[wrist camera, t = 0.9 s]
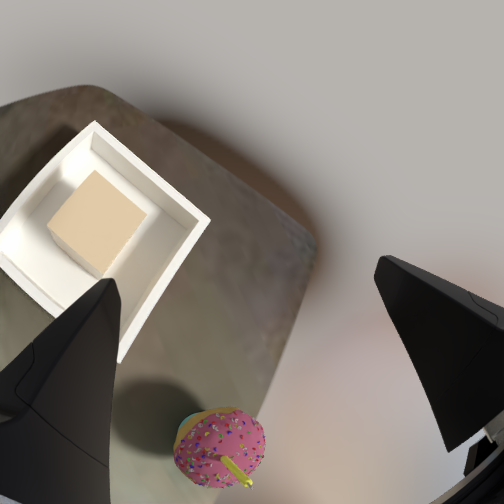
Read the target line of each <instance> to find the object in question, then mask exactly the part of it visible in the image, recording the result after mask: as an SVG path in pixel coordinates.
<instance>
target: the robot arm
mask: <svg viewBox="0 0 504 504" xmlns="http://www.w3.org/2000/svg"><path fill="white" fill-rule="evenodd" d="M374 281H375V283H376V286H377V288H378V290H379V293H380V295H381V297H382V300H383V302H384V305H385V307H386V309H387V312H388V314H389V316H390V318H391V320H392V322H393V324H394V326H395V328H396V330H397V332H398V334H399V336H400V338H401V340H402V342H403V344H404V346H405V348H406V350H407V352H408V354H409V357H410V359H411V361H412V363H413V365H414V368H415V370H416V372H417V374H418V376H419V379H420V381H421V383H422V386H423V388H424V390H425V393H426V395H427V398H428V400H429V402H430V405H431V408H432V411H433V413H434V416H435V418H436V421H437V424H438V427H439V430H440V432H441V435H442V438H443V441H444V444H445V447H446V449H447V452H448V453H449V452H450V451H452V450H453V449H455V448H456V447H458V446H459V445H461V444H462V443H464V442H465V441H466V440H468V439H469V438H470V437H472V436H473V435H474V434H475V433H477V432H478V431H479V430H480V429H483V430H484V432H485V435H484V436H483V437H482V438H481V439H479V440H478V441H477V442H476V443H475V444H473V445H472V446H471V447H470V448H469V452H468V456H467V461H466V466H465V469H464V476H465V478H464V479H463V480H461V481H460V482H459V483H458V484H456V485H455V486H454V487H452V488H451V489H450V490H448V491H447V492H446V493H444V494H443V495H441V496H440V497H439V498H437V499H436V500H434V501H433V502H431V503H430V504H504V308H503V307H501V306H499V305H496V304H494V303H492V302H490V301H488V300H486V299H484V298H482V297H479V296H477V295H475V294H473V293H471V292H469V291H467V290H465V289H463V288H461V287H459V286H457V285H455V284H453V283H451V282H449V281H447V280H444V279H442V278H440V277H438V276H436V275H434V274H431V273H429V272H427V271H425V270H423V269H421V268H418V267H416V266H414V265H412V264H409V263H407V262H405V261H403V260H400V259H398V258H396V257H394V256H391V255H386V256H381V257H380V258H379V261H378V264H377V267H376V270H375V274H374ZM121 305H122V304H121V297H120V294H119V291H118V288H117V285H116V282H115V280H114V279H113V278H102V279H100V280H99V281H98V282H97V283H96V284H94V285H93V286H92V287H91V288H90V289H89V290H87V291H86V292H85V293H84V294H83V295H82V296H80V297H79V298H78V299H77V300H76V301H75V302H74V303H73V304H71V305H70V306H69V307H68V308H67V309H66V310H65V311H64V312H63V313H61V314H60V315H59V316H58V317H57V318H56V319H55V320H54V321H53V322H52V323H51V324H50V325H49V326H47V327H46V328H45V329H44V330H43V331H42V332H41V333H40V334H39V335H38V336H37V337H36V338H35V339H34V340H33V343H32V342H31V343H30V344H29V345H28V346H27V347H26V348H25V349H24V350H23V351H22V352H21V353H20V354H19V355H18V356H17V357H16V358H15V359H14V360H13V361H12V362H10V363H9V364H8V365H7V366H6V367H5V368H4V369H3V370H2V371H1V372H0V504H111V502H110V479H109V444H110V423H111V409H112V397H113V388H114V379H115V371H116V363H117V356H118V349H119V336H120V319H121Z"/></svg>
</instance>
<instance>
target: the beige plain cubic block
mask: <svg viewBox="0 0 504 504" xmlns="http://www.w3.org/2000/svg"><path fill="white" fill-rule="evenodd" d="M146 216H147V214H146V213H145V212H144V211H143V210H141V209H140V208H139V207H138V206H137V205H135V204H134V203H133V202H132V201H131V200H129V199H128V198H127V197H126V196H125V195H124V194H122V193H121V192H120V191H119V190H118V189H117V188H115V187H114V186H113V185H112V184H111V183H110V182H109V181H107V180H106V179H105V178H104V177H103V176H102V175H101V174H99V173H98V172H97V171H96V170H94V171H93V172H92V173H91V174H90V175H89V176H88V177H87V178H86V179H85V180H84V181H83V182H82V184H81V185H80V186H79V187H78V188H77V189H76V190H75V191H74V192H73V194H72V195H71V196H70V197H69V198H68V199H67V200H66V202H65V203H64V204H63V205H62V206H61V208H60V209H59V210H58V211H57V212H56V214H55V215H54V216H53V217H52V219H51V220H50V221H49V222H48V224H47V227H48V229H49V231H50V233H51V235H52V237H53V239H54V241H55V243H56V245H57V246H59V247H60V248H61V249H62V250H63V251H64V252H65V253H66V254H68V255H69V256H70V257H71V258H72V259H73V260H75V261H76V262H77V263H78V264H79V265H80V266H82V267H83V268H84V269H85V270H86V271H88V272H89V273H90V274H91V275H93V276H94V277H95V278H96V279H97V280H100V279H102V277H103V276H104V274H105V273H106V271H107V270H108V268H109V267H110V266H111V264H112V263H113V261H114V260H115V258H116V257H117V256H118V254H119V253H120V252H121V250H122V249H123V247H124V246H125V245H126V243H127V242H128V241H129V239H130V238H131V237H132V235H133V234H134V233H135V231H136V230H137V228H138V227H139V225H140V224H141V223H142V221H143V220H144V218H145V217H146Z"/></svg>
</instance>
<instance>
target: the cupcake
mask: <svg viewBox="0 0 504 504" xmlns="http://www.w3.org/2000/svg"><path fill="white" fill-rule="evenodd" d="M265 446H266V444H265V436H264V431H263V428H262V426H261V425H260V423H259V422H258V421H256V420H255V418H252V417H251V416H249V415H248V414H246V413H245V412H243V411H242V410H240V409H238V408H236V407H226V408H217V409H211V410H207V411H203V412H198V413H194V414H192V415H190V416H188V417H187V418H185V419H184V420H183V421H182V423H181V424H180V426H179V428H178V433H177V437H176V441H175V444H174V446H173V451H174V461H175V464H176V466H177V467H178V468H179V469H180V471H181V472H182V473H183V474H184V475H185V476H187V477H188V478H189V479H190V480H191V481H193V482H194V483H195V484H198V485H202V486H203V487H207V488H208V487H212V488H214V487H216V488H218V487H219V488H220V487H222V488H223V487H224V486H228V487H229V486H231V485H233V484H236V483H240V482H241V483H242V484H243V485H244V486H245V487H249V488H250V489H251V490H252V489H253V487H252V486H251V485H252V480H250V479H249V478H248V476H249V475H250V474H251V473H252V472H253V471H254V470H255V469H256V467H257V466H258V465H259V464H260V463H261V459H262V458H263V457H264V455H263V453H264V449H265Z"/></svg>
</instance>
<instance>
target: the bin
mask: <svg viewBox="0 0 504 504" xmlns="http://www.w3.org/2000/svg"><path fill="white" fill-rule="evenodd" d="M94 170H96V171H97V172H98V173H99V174H101V175H102V176H103V177H104V178H105V179H106V180H107V181H109V182H110V183H111V184H112V185H113V186H114V187H115V188H117V189H118V190H119V191H120V192H121V193H122V194H124V195H125V196H126V197H127V198H128V199H129V200H131V201H132V202H133V203H134V204H135V205H137V206H138V207H139V208H140V209H141V210H143V211H144V212H145V213H146V214H147V216H146V217H145V218H144V220H143V221H142V223H141V224H140V225H139V227H138V228H137V230H136V231H135V233H134V234H133V235H132V237H131V238H130V239H129V241H128V242H127V243H126V245H125V246H124V247H123V249H122V250H121V252H120V253H119V254H118V256H117V257H116V258H115V260H114V261H113V263H112V264H111V266H110V267H109V268H108V270H107V271H106V273H105V274H104V276H103V277H102V278H113V279H114V280H115V282H116V285H117V288H118V291H119V294H120V297H121V304H122V305H121V319H120V336H119V349H118V356H117V362H118V363H121V361H122V359H123V358H124V356H125V354H126V352H127V351H128V349H129V347H130V346H131V344H132V342H133V340H134V339H135V337H136V335H137V334H138V332H139V330H140V329H141V327H142V325H143V324H144V322H145V320H146V319H147V317H148V316H149V314H150V312H151V311H152V309H153V307H154V306H155V304H156V303H157V301H158V299H159V298H160V296H161V295H162V293H163V292H164V290H165V288H166V287H167V285H168V284H169V282H170V281H171V279H172V277H173V276H174V274H175V273H176V271H177V270H178V268H179V267H180V265H181V264H182V262H183V261H184V259H185V258H186V256H187V255H188V253H189V252H190V250H191V249H192V247H193V246H194V244H195V243H196V241H197V240H198V238H199V237H200V235H201V234H202V232H203V231H204V230H205V228H206V227H207V225H208V224H209V222H210V221H211V220H210V219H209V218H208V217H207V216H206V215H205V214H203V213H202V212H201V211H200V210H199V209H198V208H196V207H195V206H194V205H193V204H192V203H191V202H189V201H188V200H187V199H186V198H185V197H184V196H182V195H181V194H180V193H179V192H178V191H176V190H175V189H174V188H173V187H172V186H171V185H169V184H168V183H167V182H166V181H165V180H164V179H162V178H161V177H160V176H159V175H158V174H157V173H155V172H154V171H153V170H152V169H151V168H150V167H148V166H147V165H146V164H145V163H144V162H143V161H141V160H140V159H139V158H138V157H137V156H136V155H134V154H133V153H132V152H131V151H130V150H128V149H127V148H126V147H125V146H124V145H123V144H121V143H120V142H119V141H118V140H117V139H116V138H114V137H113V136H112V135H111V134H110V133H109V132H107V131H106V130H105V129H104V128H103V127H102V126H100V125H99V124H98V123H97V122H96V121H95V120H94V121H93V122H92V123H91V124H90V125H88V126H87V127H86V128H85V129H84V130H83V131H81V132H80V133H79V134H78V135H77V136H76V137H75V138H73V139H72V140H71V141H70V142H69V143H68V144H67V145H66V146H65V147H64V148H63V149H62V150H61V151H60V152H58V153H57V154H56V155H55V156H54V157H53V158H52V159H51V160H50V161H49V162H48V164H47V165H46V166H45V167H44V168H43V169H42V170H41V171H40V172H39V173H38V174H37V175H36V176H35V177H34V179H33V180H32V181H31V182H30V183H29V184H28V185H27V187H26V188H25V189H24V190H23V191H22V192H21V194H20V195H19V196H18V197H17V199H16V200H15V201H14V202H13V204H12V205H11V206H10V207H9V209H8V210H7V211H6V213H5V214H4V215H3V217H2V218H1V219H0V267H1V268H2V269H3V270H4V271H5V272H6V273H7V274H8V275H9V276H10V277H11V278H12V279H13V280H14V281H15V282H16V283H17V284H18V285H19V286H20V287H21V288H22V289H23V290H24V291H25V292H26V293H27V294H28V295H30V296H31V297H32V298H33V299H34V300H35V301H36V302H37V303H38V304H40V305H41V306H42V307H43V308H44V309H45V310H47V311H48V312H49V313H50V314H51V315H53V316H54V317H55V318H57V317H58V316H59V315H60V314H61V313H63V312H64V311H65V310H66V309H67V308H68V307H69V306H70V305H71V304H73V303H74V302H75V301H76V300H77V299H78V298H79V297H80V296H82V295H83V294H84V293H85V292H86V291H87V290H89V289H90V288H91V287H92V286H93V285H94V284H96V283H97V282H98V281H99V280H97V279H96V278H95V277H94V276H93V275H91V274H90V273H89V272H88V271H86V270H85V269H84V268H83V267H82V266H80V265H79V264H78V263H77V262H76V261H75V260H73V259H72V258H71V257H70V256H69V255H68V254H66V253H65V252H64V251H63V250H62V249H61V248H60V247H59V246H57V245H56V243H55V241H54V239H53V237H52V235H51V233H50V231H49V229H48V227H47V224H48V222H49V221H50V220H51V219H52V217H53V216H54V215H55V214H56V212H57V211H58V210H59V209H60V208H61V206H62V205H63V204H64V203H65V202H66V200H67V199H68V198H69V197H70V196H71V195H72V194H73V192H74V191H75V190H76V189H77V188H78V187H79V186H80V185H81V184H82V182H83V181H84V180H85V179H86V178H87V177H88V176H89V175H90V174H91V173H92V172H93V171H94Z"/></svg>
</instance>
